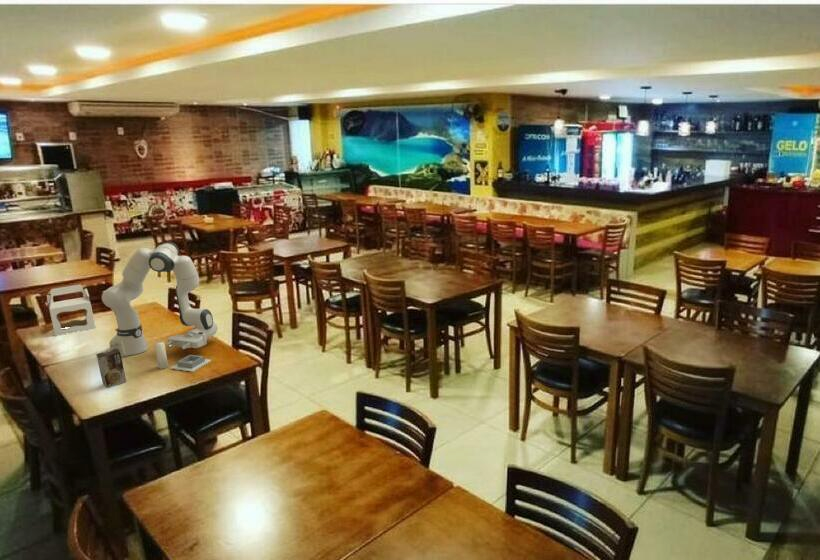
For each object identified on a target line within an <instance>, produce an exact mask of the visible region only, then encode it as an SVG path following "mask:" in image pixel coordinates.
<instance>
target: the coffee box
mask: <svg viewBox="0 0 820 560" xmlns="http://www.w3.org/2000/svg"><path fill="white" fill-rule="evenodd" d="M96 359H97V364H98V367H99V369H98V370H99V372H100V373H99V374H100V377H101V382H102V385H103V386H104V387H105V388H106V389H109V388H112V387H115V386H119V385H122V384H124V383H127V378H126V373H125V372H126V371H125V368H124V364H123V358H122V357H121V353H120V351H119V350H117V349H112V350H109V351H106V350H105V351H102V352H99V353H96Z"/></svg>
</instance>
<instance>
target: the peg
mask: <svg viewBox="0 0 820 560" xmlns="http://www.w3.org/2000/svg"><path fill="white" fill-rule="evenodd" d="M165 345H166V343H165V342H164V341H158V342H156V343H154V350H155V351H154V352H155V356H156V360H157V367H158V368H157V369H159V368H160V369H159V370H164V369H163V368H165V369H167V368H169V362H168V357H167V351H166V346H165ZM166 367H167V368H166Z"/></svg>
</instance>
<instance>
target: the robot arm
mask: <svg viewBox="0 0 820 560" xmlns="http://www.w3.org/2000/svg"><path fill="white" fill-rule="evenodd" d="M179 253H180V249H179V247H178V245H177V244H176V243H174V242H172V241H166V242H162V243H161V244H158V245H156V246H155V247H154V248H153V249H150V248H148V247H144V246H143V247H140V248H138V249H137V250H136V251H135V252H134V253H133V254H132V255H131V257H130V259H129V260H128V262H127V264H126V266H124V269H123V270H122V277H123V278H122V280H121V281H120V282H118V283H117V284H115V285H113V286H110V287H108V288H107V289H105V291H104V292H102V294H101V300H102V303H103V304H104V305H105V306H106V307H107V308H110V309H111V310H112V312H113V314H114V316H115V320H116V323H117V325H116V326H117V328H115V329H114V331H115V332H116V334H115V336H114V337H112V339H111V340H110V341H109V348H107V349H106V350H105V351H109V350H112V349H117V350H119V351H120V353H121V358H122V357H126V356H135V355H138V354H141V353H143V352H145V351H147V350H148V349H149V346H148V345H149V344H148V342H147V341H146V338H145V337H146V336H145V334H144V331H143V325H142V324H141V321H140V316H139V315H140V314H139V311H138V310H137V309H134V308H133V307H132V305H131V301H133V300H136V299H137V298H138V297H140V296H141V295H142V294H143V292H144V286H143V283H144V280H145V279H146V277H147V276H148V274H149V272H150V271H151V270H152V271H154V272H156V273H157V272H158V273H163V272H164V273H170V272H173V273H174V277H175V279H176V285H175V295H176V300H177V306H178V311H179V322H180V323H181V324H182V325H183V326H185V327H188V326H189V327H192V326H194V328H192V329H190V330H188V331H186V332H185V334H174V335H171V336H170V337H168V338H167V344H166V347H167V348H171V347H172V346H177V347H180V349H182V350H185V349H188V348H189V349H190V348H191V349H192V348H193V349H199V348H201V347H203V346H206V345H207V344H208V343H207V341H208V340H209V339H211V338H212V337H213V336H215V335H216V334H217V332H218V325H217V322H215V321H214V318H213V314H212V313H211V312H212V311H210V310H209V309H207V308H193V307H191V305H190V301H189V293H190V292H192V291H194V290H196V289H197V287H199V284H200V277H199V273H198V270H197V268H196V266H195V264H194V261H193V260H192V259H191V257H190V256H188V255H179Z"/></svg>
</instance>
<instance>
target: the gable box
mask: <svg viewBox="0 0 820 560" xmlns="http://www.w3.org/2000/svg"><path fill="white" fill-rule="evenodd" d="M73 293H82V297H77V298H72V299H71V298H70V299H64V300H59V301H54V297H56V296H63V295H68V294H73ZM46 300H47V304H48V310H49V315H50V320H51V322H52V323H51V324H52V327H53V331H54V337H58V336H57V335H60V336H62V335H61V334H65V335H67V334H66V333H70V334H73V333H72V332H75V333H78V332H77V331H80V332H84V330H85V331H89V329H90V330H93V329H96V324H95V319H94V317H95V316H94V313H93V309H92V304H91V301H90V294H89V291H88V288H87V287H85V288H84V287H83V285H82V284H80V283H79V284H73V285H68V286H61V287H60V286H59V287H55V288H51V289H50V294H46ZM79 310H84V315H85V319H82V320H80V319H75V320H73V319H72V320H71V321H68V322H65V323H61V318H60V316H59V315H58V314H60V313H65V312H74V311H79ZM65 327H70V328H68V329H61V328H65Z"/></svg>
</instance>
